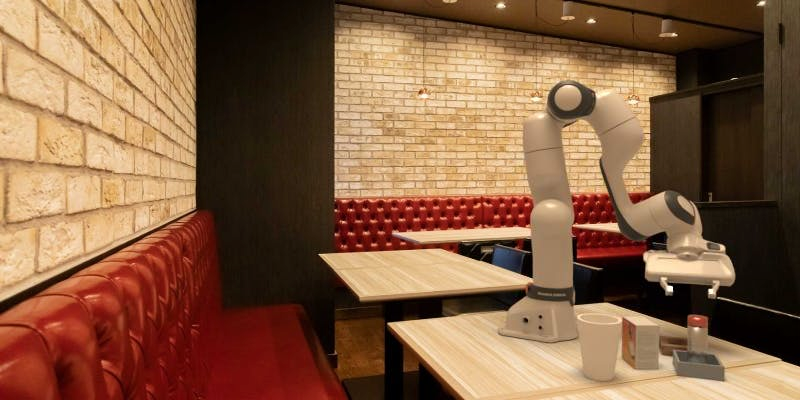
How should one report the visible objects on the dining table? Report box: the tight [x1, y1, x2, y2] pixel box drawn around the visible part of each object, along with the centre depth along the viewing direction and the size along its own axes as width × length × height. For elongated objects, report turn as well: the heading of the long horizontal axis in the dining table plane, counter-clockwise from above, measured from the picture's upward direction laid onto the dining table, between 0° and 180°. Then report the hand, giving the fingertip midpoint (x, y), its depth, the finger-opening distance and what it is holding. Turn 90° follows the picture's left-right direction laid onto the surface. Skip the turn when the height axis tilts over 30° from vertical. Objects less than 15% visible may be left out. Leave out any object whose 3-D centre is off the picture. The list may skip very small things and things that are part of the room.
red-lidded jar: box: [687, 314, 709, 364], centre depth 120 cm, size 4×4×12 cm
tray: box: [671, 350, 726, 382], centre depth 120 cm, size 9×9×3 cm
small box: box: [621, 315, 660, 370], centre depth 125 cm, size 8×6×10 cm
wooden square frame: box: [659, 335, 688, 357], centre depth 133 cm, size 9×9×2 cm
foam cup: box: [576, 312, 622, 382], centre depth 117 cm, size 10×9×13 cm
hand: (690, 295), depth 130 cm, fingers open, 8 cm apart
